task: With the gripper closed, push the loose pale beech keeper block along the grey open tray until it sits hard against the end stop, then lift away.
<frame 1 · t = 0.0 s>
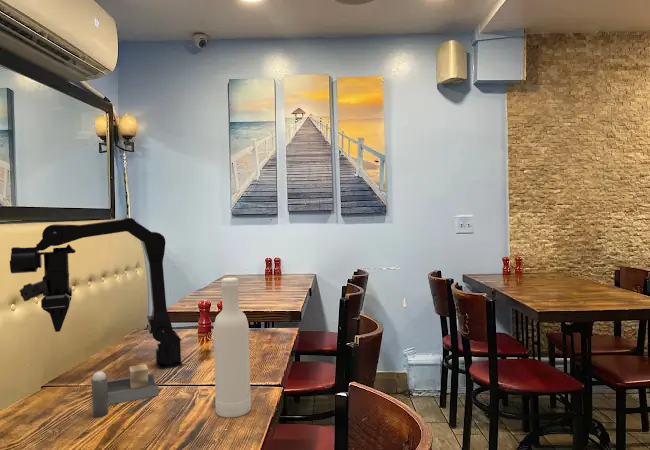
hand: (58, 327, 127), 15 cm above the table, fingers open, 9 cm apart
bottle: (233, 411, 106), on the table
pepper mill: (100, 414, 105), on the table
keeper: (138, 377, 118), point 4 cm above the table, slide at -3.0 cm
grey open tray: (126, 394, 117), on the table
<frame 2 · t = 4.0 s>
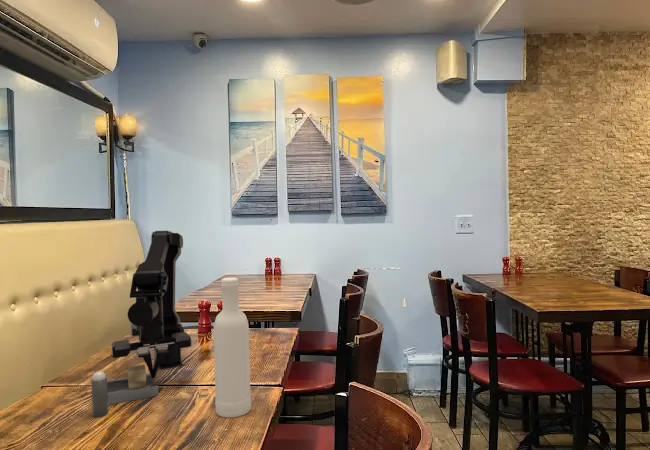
hand: (153, 377, 120), 3 cm above the table, fingers closed
keeper: (136, 378, 118), point 4 cm above the table, slide at -2.5 cm, touching gripper
everything else where it was.
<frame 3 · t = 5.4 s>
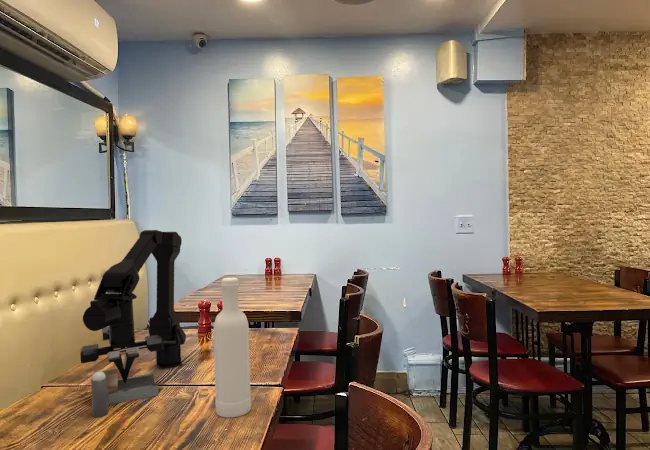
hand: (124, 382, 117), 3 cm above the table, fingers closed
keeper: (108, 382, 115), point 4 cm above the table, slide at 4.0 cm, touching gripper, grey open tray
everything else where it was.
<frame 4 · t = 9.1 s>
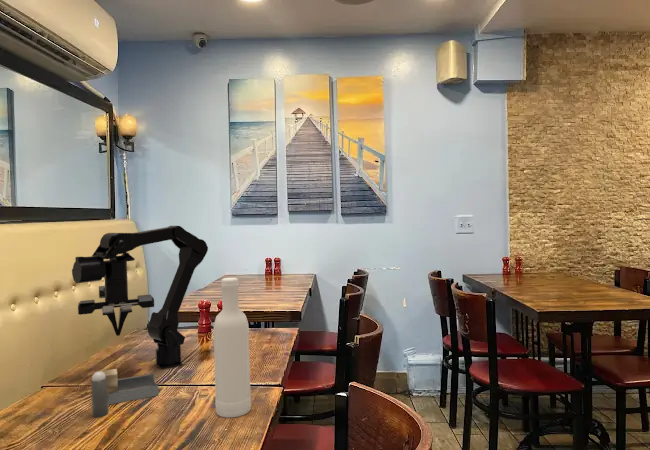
hand: (118, 335, 128), 12 cm above the table, fingers closed
keeper: (108, 382, 115), point 4 cm above the table, slide at 4.0 cm, touching grey open tray
everything else where it was.
at the end: keeper slide at 4.0 cm; the gripper is holding nothing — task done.
